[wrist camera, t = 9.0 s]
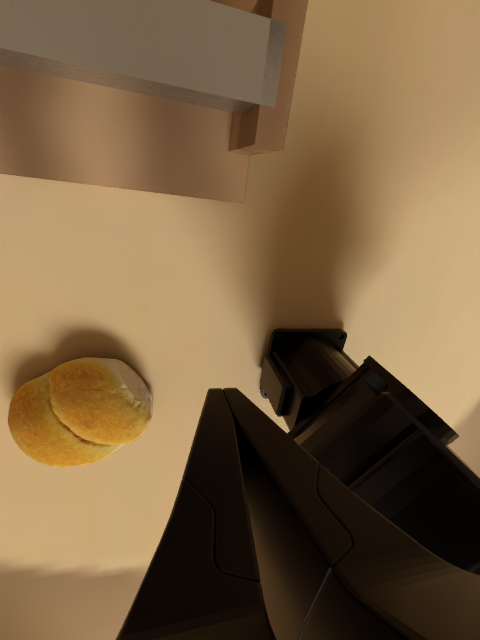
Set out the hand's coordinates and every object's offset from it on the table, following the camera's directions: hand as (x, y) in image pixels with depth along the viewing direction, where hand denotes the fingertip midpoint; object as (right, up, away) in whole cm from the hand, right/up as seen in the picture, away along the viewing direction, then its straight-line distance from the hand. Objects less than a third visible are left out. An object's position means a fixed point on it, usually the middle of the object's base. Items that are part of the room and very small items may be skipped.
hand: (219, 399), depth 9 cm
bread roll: (-11, -3, +14) cm, 18 cm away
